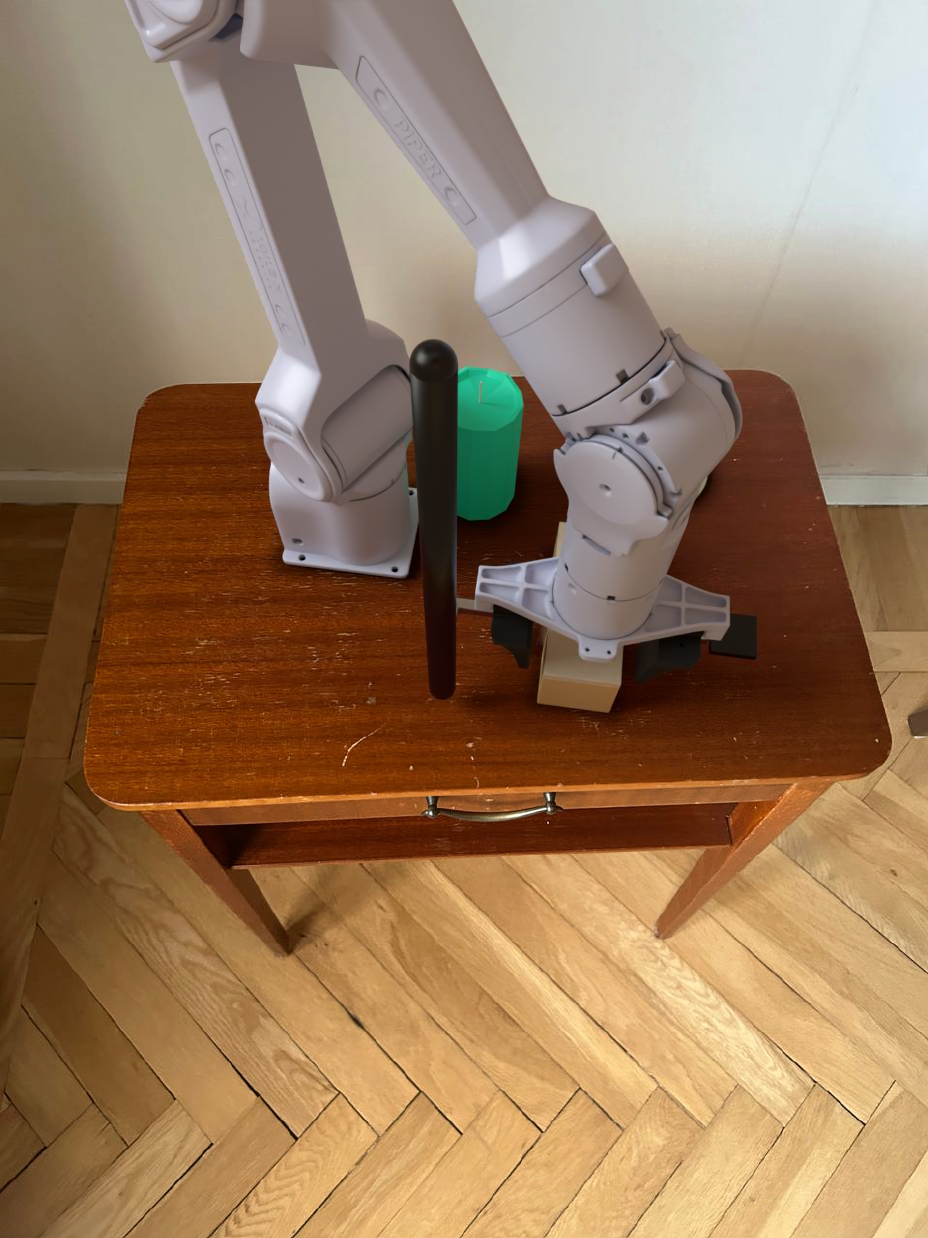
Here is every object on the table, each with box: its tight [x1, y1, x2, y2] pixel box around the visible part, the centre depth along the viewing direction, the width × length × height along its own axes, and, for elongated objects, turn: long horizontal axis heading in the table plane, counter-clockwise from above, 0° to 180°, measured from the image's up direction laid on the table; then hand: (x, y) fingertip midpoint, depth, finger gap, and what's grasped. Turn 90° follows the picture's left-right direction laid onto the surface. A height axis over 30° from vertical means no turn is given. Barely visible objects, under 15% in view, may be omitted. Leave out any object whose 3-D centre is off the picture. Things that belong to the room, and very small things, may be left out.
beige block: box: [536, 628, 624, 714], centre depth 59 cm, size 5×4×5 cm
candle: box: [457, 366, 525, 521], centre depth 64 cm, size 6×6×12 cm
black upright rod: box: [409, 338, 758, 701], centre depth 47 cm, size 21×7×33 cm, turn 82°
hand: (582, 662), depth 58 cm, fingers open, 7 cm apart
